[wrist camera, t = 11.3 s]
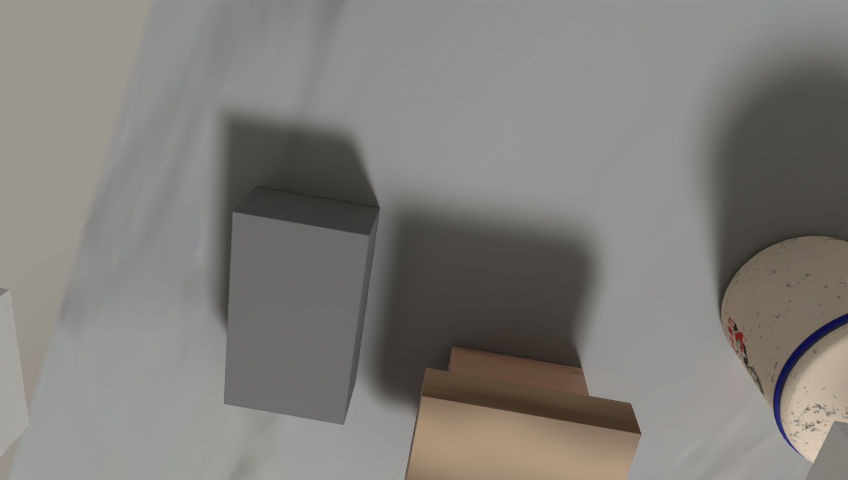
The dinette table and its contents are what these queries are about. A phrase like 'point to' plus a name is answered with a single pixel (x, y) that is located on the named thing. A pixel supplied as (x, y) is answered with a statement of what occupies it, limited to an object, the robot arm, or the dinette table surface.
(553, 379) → the pink hollow square box
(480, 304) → the dinette table surface
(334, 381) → the gray rectangular block
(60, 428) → the dinette table surface
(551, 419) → the lid
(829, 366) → the teacup with lid
